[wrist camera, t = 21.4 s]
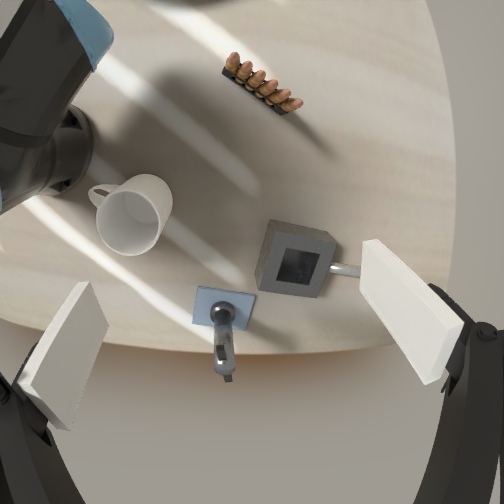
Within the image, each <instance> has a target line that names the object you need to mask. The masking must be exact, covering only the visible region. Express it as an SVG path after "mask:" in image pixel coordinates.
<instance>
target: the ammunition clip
mask: <svg viewBox="0 0 504 504" xmlns="http://www.w3.org/2000/svg"><path fill="white" fill-rule="evenodd" d="M239 58H240V57H239V54H238V53H237V52H233V53H231V54H230V56H229V58H228V59H227V61H226V68H225V67H224V68H223V71H222V74H223V75H225V76H226V77H228V78H229V79H231V80H232V81H234V82H235V83H237V84H238V85H239V86H241V87H242V88H244V89H245V90H247V91H248V92H249V93H251V94H252V95H254V96H255V97H256V98H258V99H259V100H260V101H262V102H263V103H265V104H266V105H267V106H269V107H270V108H271V109H273V110H274V111H275V112H276V113H278V114H279V115H284V114H287V113H288V111H293V110H296V109H297V108H300V107H301V106H302V105H303V101H302V100H301V99H294V98H288V97H289V96H290V95H291V91H290V90H288V89H279V90H278V89H276V88H277V86H278V81H277V80H270V81H265V80H264V78H265V76H266V73H265V71H263V70H259V71H257V72H256V73H254V72H253V71H252V67H253V65H252V62H250V61H246V62H244V63H243V64H241V63H240V59H239ZM239 66H240V67H239ZM251 73H252V75H251V76H250V74H251ZM263 82H264V83H263ZM262 83H263V84H262Z"/></svg>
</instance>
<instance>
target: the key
mask: <svg viewBox="0 0 504 504" xmlns="http://www.w3.org/2000/svg"><path fill="white" fill-rule="evenodd" d="M210 318H211V320H212V322H213V323H214V370H215V372H216V373H218V374H220V375H223V376H224V380H225V382H232V373H233V372H234V371H235V357H234V345H233V332H232V322H233V321H234V319H235V309H234V306H233V305H232V304H231V303H229V302H226V301H219V302H216V303H214V304H213V305H212V307H211V309H210Z"/></svg>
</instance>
